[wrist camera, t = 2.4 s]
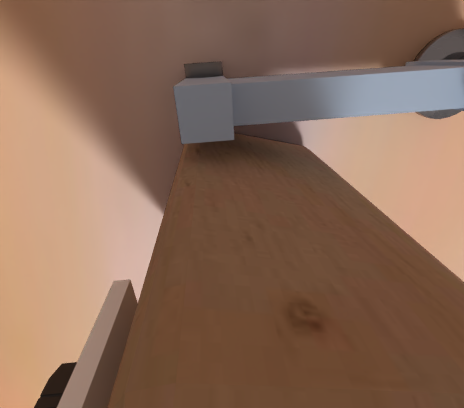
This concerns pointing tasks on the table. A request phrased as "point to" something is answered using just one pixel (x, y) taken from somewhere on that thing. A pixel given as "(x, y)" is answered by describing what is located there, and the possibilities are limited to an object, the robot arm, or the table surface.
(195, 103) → the grey i-beam block
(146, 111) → the table surface
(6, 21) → the table surface
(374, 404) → the wooden block
